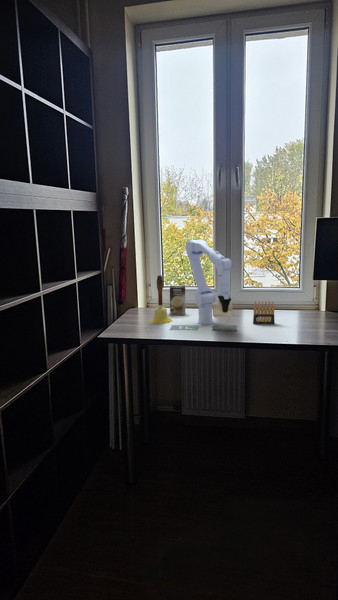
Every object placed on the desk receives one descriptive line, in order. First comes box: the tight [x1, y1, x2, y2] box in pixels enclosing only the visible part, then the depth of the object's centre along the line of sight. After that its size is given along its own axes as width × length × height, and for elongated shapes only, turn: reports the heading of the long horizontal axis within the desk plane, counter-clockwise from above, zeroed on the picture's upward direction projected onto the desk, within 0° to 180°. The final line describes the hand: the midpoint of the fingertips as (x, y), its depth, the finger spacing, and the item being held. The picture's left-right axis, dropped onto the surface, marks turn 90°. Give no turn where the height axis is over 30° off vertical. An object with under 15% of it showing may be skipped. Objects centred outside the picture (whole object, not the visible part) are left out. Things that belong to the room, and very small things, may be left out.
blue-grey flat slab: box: [169, 324, 200, 331], centre depth 208 cm, size 10×14×1 cm
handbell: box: [149, 274, 173, 325], centre depth 221 cm, size 12×12×25 cm
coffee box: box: [169, 285, 186, 316], centre depth 239 cm, size 9×6×16 cm
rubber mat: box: [211, 324, 238, 332], centre depth 205 cm, size 10×12×1 cm
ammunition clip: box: [252, 300, 276, 325], centre depth 212 cm, size 11×2×12 cm, turn 86°
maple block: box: [212, 301, 234, 318], centre depth 203 cm, size 5×9×6 cm, turn 91°
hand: (224, 311), depth 204 cm, fingers closed on maple block, 5 cm apart
